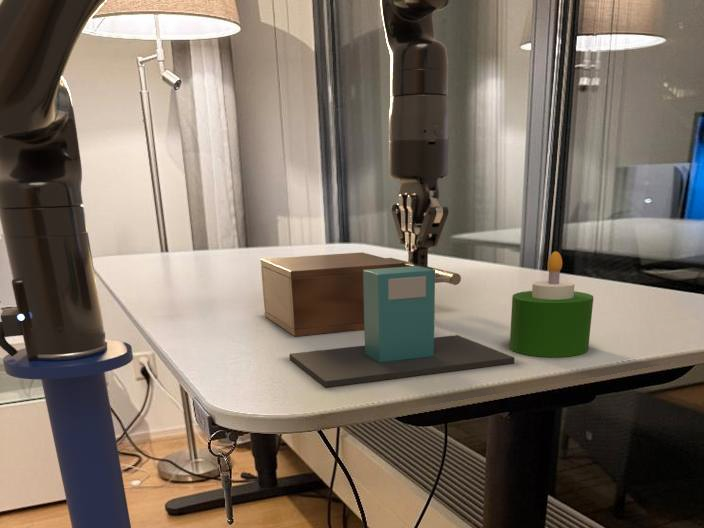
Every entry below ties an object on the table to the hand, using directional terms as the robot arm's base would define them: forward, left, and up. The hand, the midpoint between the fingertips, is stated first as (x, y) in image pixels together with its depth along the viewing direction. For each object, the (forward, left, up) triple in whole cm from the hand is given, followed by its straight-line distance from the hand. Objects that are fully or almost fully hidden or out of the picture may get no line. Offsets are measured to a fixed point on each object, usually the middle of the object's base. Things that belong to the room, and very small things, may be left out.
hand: (417, 279), depth 98 cm
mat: (-14, -24, -4) cm, 28 cm away
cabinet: (-13, 0, -4) cm, 13 cm away
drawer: (-5, 0, -3) cm, 6 cm away
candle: (+3, -26, -5) cm, 27 cm away
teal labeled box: (-14, -24, -4) cm, 28 cm away
